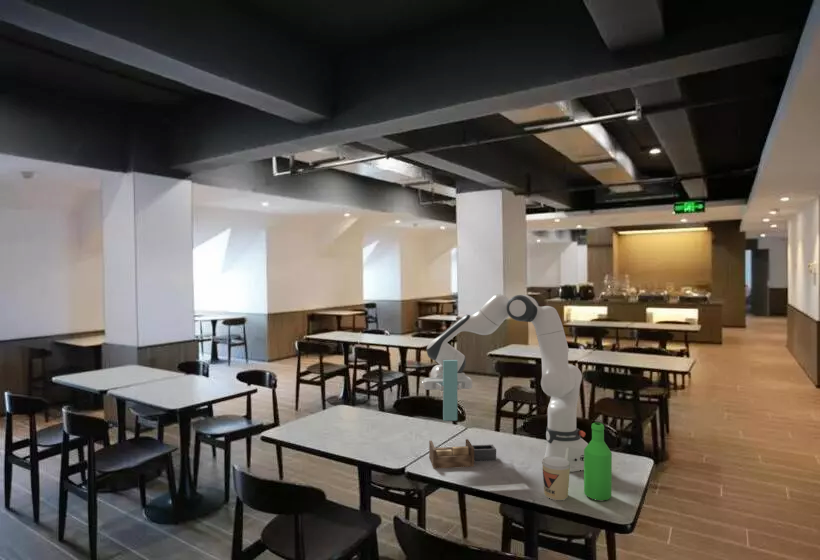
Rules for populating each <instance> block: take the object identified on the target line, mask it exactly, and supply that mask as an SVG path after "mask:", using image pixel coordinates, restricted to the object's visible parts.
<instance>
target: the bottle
mask: <svg viewBox="0 0 820 560" xmlns="http://www.w3.org/2000/svg"><path fill="white" fill-rule="evenodd" d="M604 430H605V425H604V423H602V422H593V423H591V440H590V441H589V442H588V445H587V446H586V448H585V449H584V470H583V494H584V495H586V496H587V497H588V498H589V497H590V498H592V499H591V500H593V499H596V500H606V501H608V500H609V499H611V498H612V487H613V486H612V481H613V479H612V475H613V473H612V471H613V470H612V466H613V465H612V463H613V462H612V460H613V458H612V455H613V454H612V451H611V450H610V448H609V446H608V444H606V442H605V431H604ZM590 498H589V499H590ZM596 500H595V501H596Z"/></svg>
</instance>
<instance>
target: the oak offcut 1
mask: <svg viewBox="0 0 820 560" xmlns="http://www.w3.org/2000/svg"><path fill="white" fill-rule="evenodd" d="M449 455H452V450H451V449H447V450H436V456H449Z"/></svg>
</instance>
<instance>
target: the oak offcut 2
mask: <svg viewBox="0 0 820 560" xmlns="http://www.w3.org/2000/svg"><path fill="white" fill-rule="evenodd" d="M452 447H453V455H468V446H466V445H465V446H464V445H463V446H452Z"/></svg>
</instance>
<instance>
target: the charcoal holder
mask: <svg viewBox="0 0 820 560" xmlns="http://www.w3.org/2000/svg"><path fill="white" fill-rule="evenodd" d="M471 445H472V446H473V448H474V463H476V462H477V463H478V462H495V461H497V448H496V447H495V446H494V444H471Z"/></svg>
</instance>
